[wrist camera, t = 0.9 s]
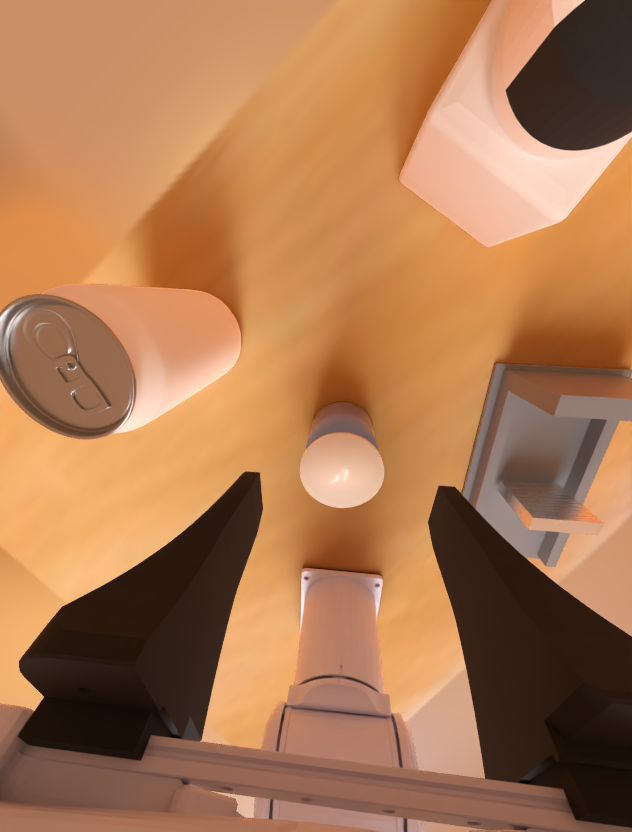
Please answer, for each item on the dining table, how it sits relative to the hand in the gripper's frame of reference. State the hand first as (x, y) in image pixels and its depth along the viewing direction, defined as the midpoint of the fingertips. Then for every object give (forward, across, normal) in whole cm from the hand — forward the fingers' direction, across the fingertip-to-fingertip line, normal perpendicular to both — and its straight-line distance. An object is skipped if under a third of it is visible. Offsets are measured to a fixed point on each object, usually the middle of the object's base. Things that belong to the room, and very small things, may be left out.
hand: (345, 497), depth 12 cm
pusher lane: (+11, -15, +6) cm, 20 cm away
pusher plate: (+10, -15, +7) cm, 20 cm away
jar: (+12, 0, +4) cm, 12 cm away
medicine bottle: (+14, -7, -14) cm, 21 cm away
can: (+13, +11, -3) cm, 17 cm away
